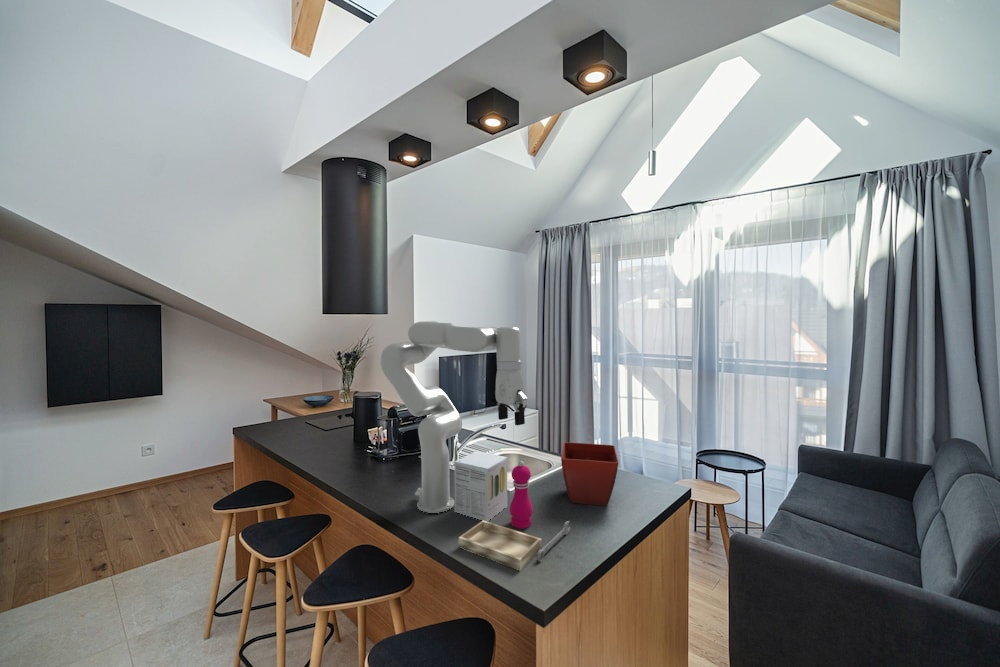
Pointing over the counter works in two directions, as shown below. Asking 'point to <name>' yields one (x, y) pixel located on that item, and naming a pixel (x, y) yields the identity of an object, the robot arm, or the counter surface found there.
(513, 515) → the pepper mill
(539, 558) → the combination wrench
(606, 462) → the plant pot
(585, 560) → the counter surface
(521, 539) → the wooden tray
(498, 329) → the robot arm
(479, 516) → the supplement box
